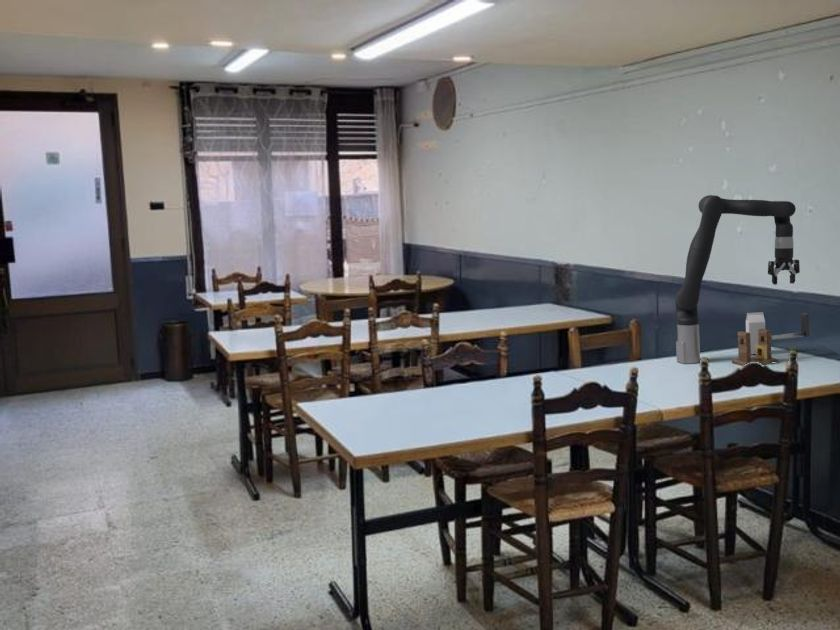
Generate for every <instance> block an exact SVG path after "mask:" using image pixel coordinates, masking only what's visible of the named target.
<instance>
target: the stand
mask: <svg viewBox="0 0 840 630" xmlns="http://www.w3.org/2000/svg"><path fill="white" fill-rule="evenodd" d="M771 330H772V329H771ZM771 330H770V329H766V328H765V329H758V343H759V344H761V345H765V346H767V360H763V359H759V358H756V356H752V355H751V345H750V333H748V332H746V331H742V330H741V331H737V346H738V347H737V349H738V350H737V352H738V353H737V354H738V355H737V356H738V358H737V359H736V358H734V359H731V364H734V365H738V366H741V367H744V366H743V365H745V364H747V363H750V362H759V363H761V364H763V365H769V364H768V363H771V364H773V363H772V362H779V360H780V359H779V358H775V357H772V340H771V336H772V332H771ZM761 355H762V349H761ZM779 363H780V362H779Z"/></svg>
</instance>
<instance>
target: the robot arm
mask: <svg viewBox="0 0 840 630" xmlns="http://www.w3.org/2000/svg"><path fill="white" fill-rule="evenodd" d="M698 209H699V212H700V213H701V218H700V222H699V225H698V226H699V227H698V228H697V231H696V232H695V233H694V236H693V237H692V240H691V243H690V246H689V249H688V252H687V256H686V263H685V264H686V266H685V275H684V276H685V277H684V280H683V283H682V286H681V289H679V290H678V291H677V292H676V295H675V317H676V327H677V340H676V341H675V349H676V353H675V354H676V362H677V363H680V364H683V365H684V364H698V363H700V362H701V350H700V349H701V348H700V347H701V346H700V344H701V343H700V323H699V320H700V319H699V313H698V303H699V299H700V294H701V286H702V282H703V279H704V275H705V274H706V270H707V267H708V265H709V264H708V263H709V261H710V257H711V253H712V249H713V245H714V242H715V241H714V240H715V237H716V231H717V228H718V225H719V222H720V219H721V217H722V214H723V215H724V214H725V215H732V214H733V215H742V216H749V217H751V216H752V217H773V218H774V225H775V239H774V259H775V260H773V261H772V260H768V263H767V264H768V265H767V274H768V276H771V283H772V285H775V286H776V285H778V274H779V273H780V272H781V271H787V272H788V273H789V283H790V284H795V282H796V275H797V274H800V271H801V270H800V269H801V268H800V260H799V259H793V258H794V237H793V236H794V226H793V223H792V222H791V217H792V216H793V215H795V213H796V205H795V203H793V202H791V201H789V200H788V201H787V200H779V201H778V200H773V201H771V200H764V199H729V198H721V196H719V195H716V194H715V195H712V194H709V195H706V196H703V197H701V199H700V200H699V202H698Z"/></svg>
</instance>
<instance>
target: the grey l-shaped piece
mask: <svg viewBox="0 0 840 630" xmlns="http://www.w3.org/2000/svg"><path fill="white" fill-rule="evenodd" d="M809 315H810V313H805V312H802V313H801V314H800V323H801V324H800V328H801V331H799V332H792V333H782V334H775V335H774V334H773V335H771V341H776V340H777V341H778V340H786V339H792V338H793V339H795V338H801V337H806V338H808V337H810V323H809V322H810V319H809V318H810V316H809Z"/></svg>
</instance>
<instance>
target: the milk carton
mask: <svg viewBox="0 0 840 630" xmlns="http://www.w3.org/2000/svg"><path fill="white" fill-rule="evenodd" d="M758 329H766V319H765V316H764V312H763V311H760V312H759V311H758V312H747V313H746V318H745V332H748V333H750V345H751V354H756V352H755V344H759V343H758Z"/></svg>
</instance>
